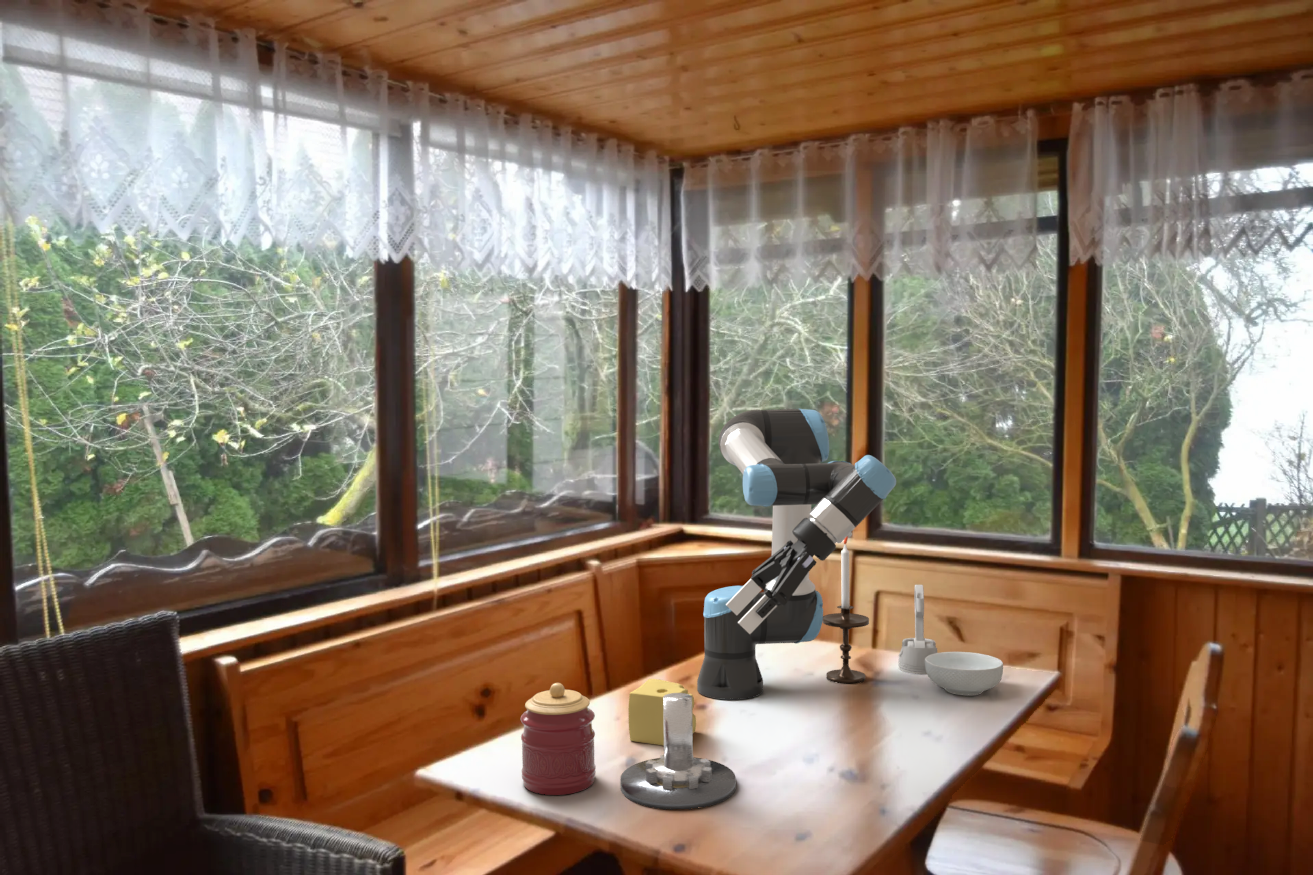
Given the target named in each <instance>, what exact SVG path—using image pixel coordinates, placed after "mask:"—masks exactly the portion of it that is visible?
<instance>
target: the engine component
mask: <svg viewBox="0 0 1313 875" xmlns="http://www.w3.org/2000/svg"><path fill="white" fill-rule="evenodd" d="M913 590H914V593H913V594H914V595H913V596H914V598H913V599H914V602H913V603H914V633H915V634H914V637H909V638H908V637H907V638H903V640H902V642H901V643H902V644H901V649H900V651H899V653H898V669H899V671H902V672H903V673H907V674H911V673H912V674H911V675H913V674H914V675H927V673H926V669H925V658H926V657H927V656H929V655H931V654H935V653H939V652H938V647H936V644H937V643H936V641H935V640H934V639H932V638H931V639H930V638H926V637H924V636H925V634H924V632H925V630H924V629H925V628H924V626H925V625H924V616H925V591H924V585H923V584H914V589H913Z"/></svg>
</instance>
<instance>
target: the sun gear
mask: <svg viewBox="0 0 1313 875" xmlns="http://www.w3.org/2000/svg"><path fill="white" fill-rule="evenodd" d="M689 694H690V693H689ZM689 694H685V693H671V694H667V695H665V696H663V720H664V746H663V754H661V755H659V758H660V759H659V760H657V761H653V760H651V759H647V760H648V761H647V762H646V781H647V782H648V783H649V784H654V783H659V784H661V785H663V789H669V790H672V789H673V788H674V787H687V788H688V789H694V788H698V783H700V782H708V783H709V782H710V781H711V780H712V768H710V761H709V760H710V759H708V758H702V759H701V760H699V759H696V758H697V757H695V758H693V757H694V754H693V753H694V749H693V744H694V743H693V736H694V735H693V734H694V733H693V734H692V696H691V695H689Z"/></svg>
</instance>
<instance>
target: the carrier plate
mask: <svg viewBox="0 0 1313 875" xmlns="http://www.w3.org/2000/svg"><path fill="white" fill-rule="evenodd" d="M693 758H696V759H699V760H701V759H703V758H702V757H694V756H693ZM659 759H660V757H657V758H651V759H650V760H653V761H657V760H659ZM648 760H649V759H646V760H644V761H643V760H642V761H640V762H636V763H635V764H632V765H631V766H629V767H627V768H626V769H624V771H623V772H622V774H621V775H620V778H619V779H620V781H619V783H620V786H619V787H620V791H621V794H622V795H623V794H624V795H625V796H624V795H623V796H624V797H625V798H626V799H628V800H629V799H630V800H629V801H631V802H633V803H635V804H637V803H638V805H640V806H643V805H645V806H644V807H647V806H648V808H652V807H654V808H653V809H657V808H659V809H660V810H666V809H670V810H669V811H671V810H673V809H689V810H695V809H694V808H698V807H703V808H707V807H706V806H708V807H711V806H710V805H712V806H714V805H715V806H716V805H718V804H720V803H722V802H725V801H727V800H728V799H729V798H731V797H732V796H733V795H734V794H735V791H736V788H737V778H736V775H735V772H734V771H733V770H732V769H731V768H729V767H728V766H727V765H725V764H722V763H720V762H717V761H715V760H711V759H708V760H709V761H710V768H712V780H711V781H710V782H709V783H708V782H700V783H698V788H694V789H688V788H687V787H674V788H673V789H672V790H669V789H663V785H661V784H659V783H654V784H649V783H648V782H647V781H646V762H647V761H648ZM717 803H718V804H717ZM691 808H693V809H691ZM659 809H658V810H659ZM698 809H699V808H698ZM673 811H674V810H673Z"/></svg>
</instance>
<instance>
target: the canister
mask: <svg viewBox="0 0 1313 875" xmlns="http://www.w3.org/2000/svg"><path fill="white" fill-rule="evenodd" d="M590 702H591V701H590V699H589V698H588V697H586V696H584V695H582V694H581V693H580V692H578V691H576V690H572V689H565V686H564V685H563V684H562V683H561V682H554V683H552V684H551V686H550V688H549V690H544V691H541V692H540V691H539V692H537V693H536V694H534V695H533V696H532V697H531V698H529V699H528V700H526V702H525V705H524V707H525V709H526V711H524V712H523V713H522V714H521V716H520V721H521V723H522V725H523V732H522V733H521V736H520V740H521V743H522V744H521V745H522V747H521V750H522V751H521V752H522V756H521V758H522V760H521V761H522V769H521V779H522V782H523V786H524V787H525V788H526V790H529V791H530V792H532V793H535V794H538V793H539V794H540V795H544V794H545V795H546V796H561V795H562V796H565V795H570V794H575V793H578V792H583V791H584V790H586V789H588V788H590V787H591V786H592V785H593V784H594V781H595V776H596V771H597V770H596V764H595V763H596V762H595V737H596V736H595V735H596V732H595V730H594V728H593V724H592V722H593V721H594V720H595V716H596V714H595V712H594V711H593V710H592V709H591V708H590V707H589V706H590ZM539 794H538V795H539Z"/></svg>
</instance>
